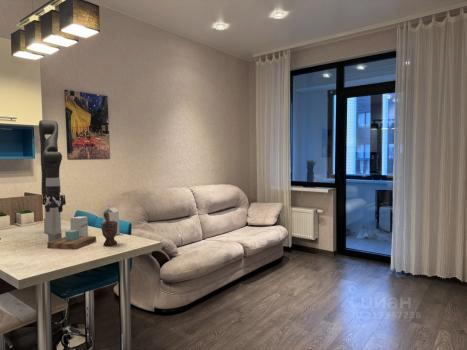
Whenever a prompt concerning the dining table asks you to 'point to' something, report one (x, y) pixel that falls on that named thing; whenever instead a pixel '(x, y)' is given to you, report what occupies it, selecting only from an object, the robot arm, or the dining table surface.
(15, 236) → the dining table surface
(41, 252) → the dining table surface
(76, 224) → the supplement box
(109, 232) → the mortar and pestle
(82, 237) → the walnut base
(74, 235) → the teal block
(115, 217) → the milk carton
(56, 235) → the charcoal block
